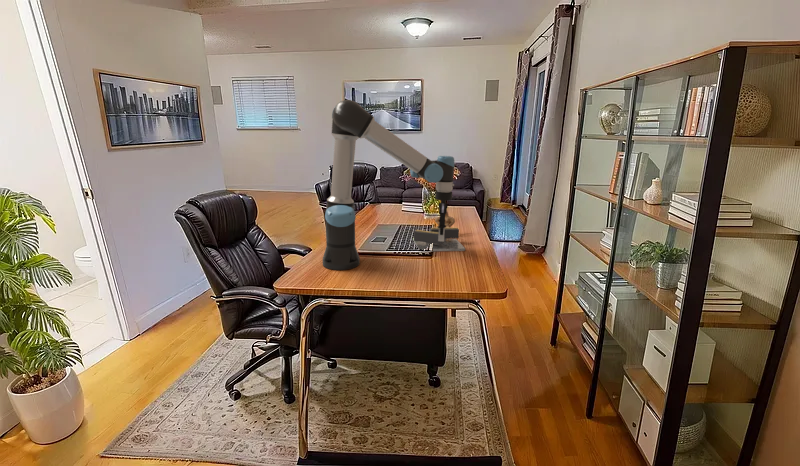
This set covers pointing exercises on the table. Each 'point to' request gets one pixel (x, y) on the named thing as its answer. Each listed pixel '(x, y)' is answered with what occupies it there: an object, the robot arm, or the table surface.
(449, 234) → the curved tan-striped slab
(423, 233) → the striped dark bar
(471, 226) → the table surface
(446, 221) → the figurine
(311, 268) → the table surface
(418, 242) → the level plate
